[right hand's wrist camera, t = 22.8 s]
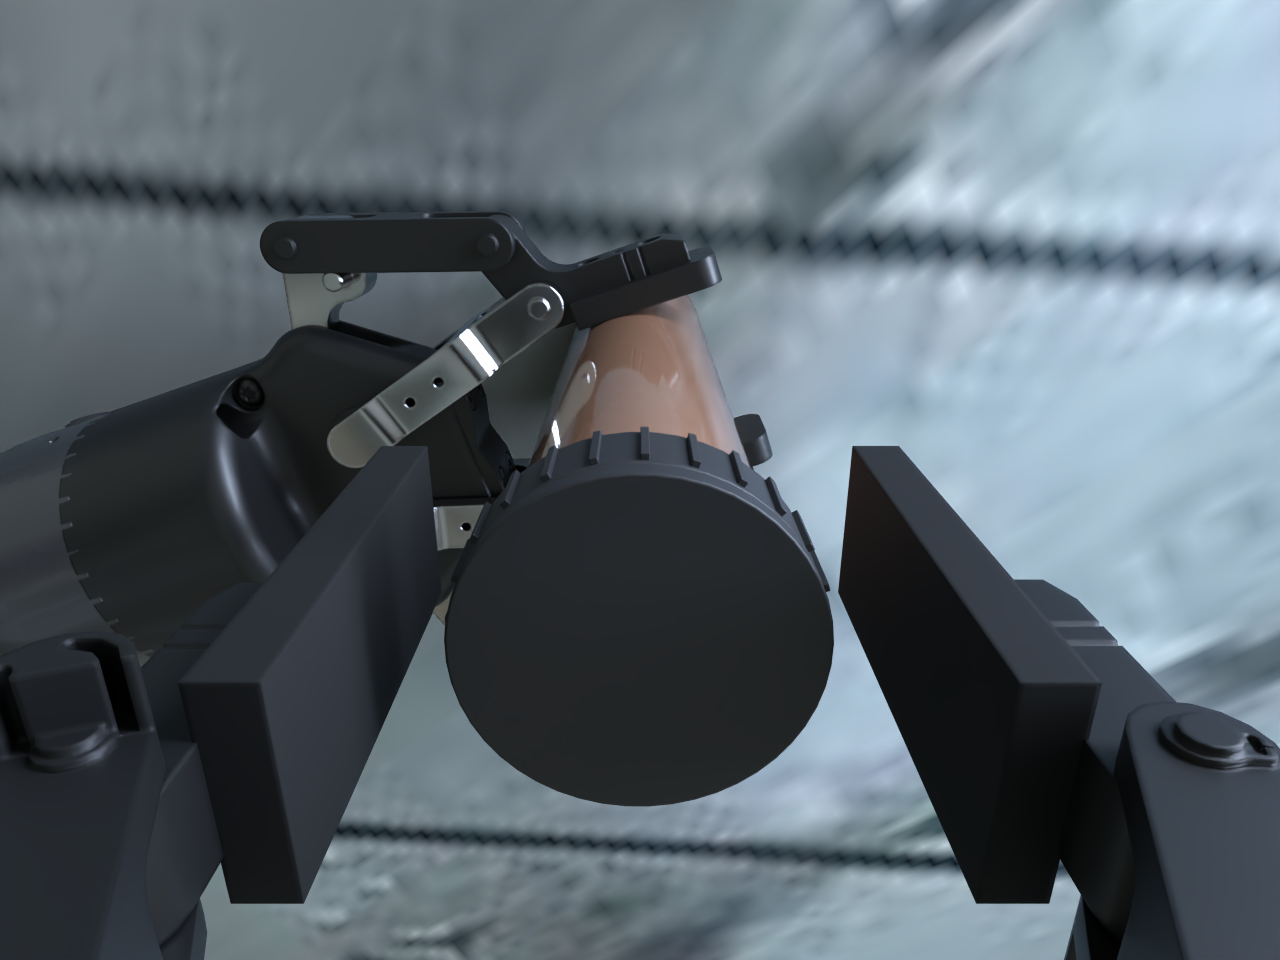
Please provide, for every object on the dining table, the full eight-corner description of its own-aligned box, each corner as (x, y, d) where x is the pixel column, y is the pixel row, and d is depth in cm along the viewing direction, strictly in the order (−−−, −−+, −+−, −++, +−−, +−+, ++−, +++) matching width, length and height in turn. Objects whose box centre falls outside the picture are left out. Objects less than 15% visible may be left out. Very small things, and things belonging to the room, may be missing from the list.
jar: (701, 270, 28) (801, 473, 11) (698, 391, 29) (783, 740, 12) (576, 270, 28) (474, 475, 11) (580, 391, 29) (496, 742, 12)
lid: (885, 521, 12) (919, 576, 10) (709, 782, 13) (718, 861, 12) (553, 360, 11) (539, 393, 9) (410, 659, 12) (380, 728, 11)
